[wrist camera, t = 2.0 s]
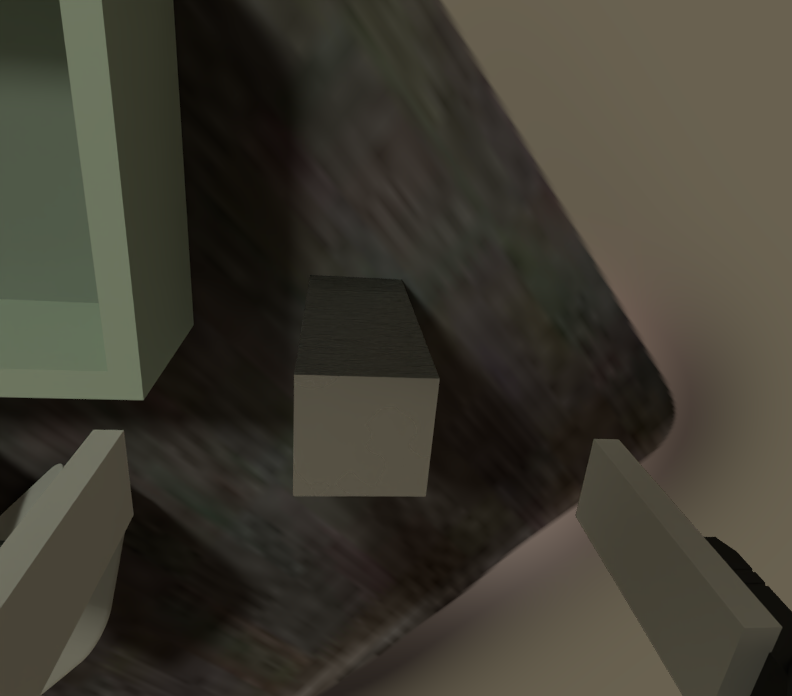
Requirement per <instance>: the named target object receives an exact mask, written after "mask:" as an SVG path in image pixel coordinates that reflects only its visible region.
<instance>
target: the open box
mask: <svg viewBox="0 0 792 696" xmlns="http://www.w3.org/2000/svg"><path fill="white" fill-rule="evenodd" d="M193 325H194V320H193V304H192V288H191V272H190V257H189V241H188V225H187V209H186V193H185V178H184V162H183V146H182V130H181V114H180V98H179V83H178V67H177V51H176V35H175V19H174V4H173V0H0V397H19V398H64V399H109V400H144V399H145V398H146V396H147V395H148V393H149V392H150V390H151V388H152V387H153V385H154V384H155V382H156V381H157V379H158V378H159V376H160V375H161V373H162V372H163V370H164V369H165V367H166V366H167V364H168V363H169V361H170V360H171V358H172V357H173V355H174V354H175V352H176V351H177V349H178V348H179V346H180V345H181V343H182V342H183V340H184V339H185V337H186V336H187V334H188V333H189V331H190V330H191V328H192V327H193Z"/></svg>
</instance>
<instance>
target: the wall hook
mask: <svg viewBox="0 0 792 696" xmlns="http://www.w3.org/2000/svg"><path fill="white" fill-rule="evenodd" d="M63 467H64V465H62V464H57V465H55V466H54V467H52V468H51V469H50V470H49V471H48V472H47V473H46V474H45V475H43V476H42V477H41V478H40V479H39V480H38V481H37V482H36V483H35V484H34V485H33V486H32V487H31V488H29V489H28V490H27V491H26V492H25V493H24V494H23V495H22V496H21V497H20V498H19V499H18V500H17V501H16V502H14V503H13V504H12V505H11V506H10V507H9V508H8V509H7V510H6V511H5V512H4V513H3V514H2V515H1V516H0V540H6V539H7V538H8V537H9V536H10V534H11V533H12V532H13V531H14V529H15V528H16V527H17V526H18V524H19V523H20V522H21V521H22V519H23V518H24V517H25V515H26V514H27V513H28V512H29V510H30V509H31V508H32V507H33V505H34V504H35V503H36V502H37V500H38V499H39V498H40V497H41V495H42V494H43V493H44V491H45V490H46V489H47V488H48V486H49V485H50V484H51V483H52V481H53V480H54V479H55V478H56V476H57V475H58V474H59V473H60V471H61V470H62V469H63ZM124 534H125V533H124ZM123 540H124V535H123V537H122V538H121V540H120V542H119V544H118V546H117V548H116V550H115V552H114V554H113V556H112V558H111V560H110V562H109V563H108V565H107V567H106V569H105V571H104V573H103V575H102V577H101V579H100V581H99V583H98V585H97V587H96V588H95V590H94V592H93V594H92V596H91V598H90V600H89V602H88V604H87V606H86V608H85V610H84V612H83V614H82V615H81V617H80V619H79V621H78V623H77V625H76V627H75V629H74V631H73V633H72V635H71V637H70V639H69V640H68V642H67V644H66V646H65V648H64V650H63V652H62V654H61V656H60V658H59V660H58V662H57V664H56V665H55V667H54V669H53V671H52V673H51V675H50V677H49V679H48V681H47V683H46V685H45V687H44V689H43V691H42V692H41V694H40V695H42V694H43V693H44V692H45V691H47V690H48V689H49V688H50V687H52V686H53V685H54V684H55V683H56V682H58V681H59V680H60V679H61V678H62V677H64V676H65V675H66V674H67V673H69V672H70V671H71V670H72V669H73V668H75V667H76V666H77V665H78V664H79V663H81V662H82V661H83V660H84V659H85V658H86V657H87V656H88V655H89V653H90V652H91V651H92V649H93V648H94V647H95V645H96V644H97V642H98V640H99V639H100V637H101V635H102V633H103V631H104V629H105V627H106V624H107V622H108V619H109V616H110V612H111V608H112V602H113V597H114V591H115V585H116V580H117V574H118V569H119V563H120V557H121V551H122V545H123Z"/></svg>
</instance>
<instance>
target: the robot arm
mask: <svg viewBox="0 0 792 696" xmlns="http://www.w3.org/2000/svg"><path fill="white" fill-rule="evenodd" d="M133 515H134V513H133V504H132V496H131V487H130V479H129V470H128V462H127V453H126V445H125V436H124V430H93V431H92V432H91V433H90V435H89V436H88V437H87V438H86V440H85V441H84V442H83V444H82V445H81V446H80V447H79V449H78V450H77V451H76V452H75V454H74V455H73V456H72V457H71V459H70V460H69V461H68V462H67V464H66V465H65V466H64V467H63V469H62V470H61V471H60V473H59V474H58V475H57V476H56V478H55V479H54V480H53V481H52V483H51V484H50V485H49V486H48V488H47V489H46V490H45V491H44V493H43V494H42V495H41V497H40V498H39V499H38V500H37V502H36V503H35V504H34V505H33V507H32V508H31V509H30V510H29V512H28V513H27V514H26V515H25V517H24V518H23V519H22V521H21V522H20V523H19V524H18V526H17V527H16V528H15V529H14V531H13V532H12V533H11V534H10V536H9V537H8V538H7V539H6V540H0V696H40V694H41V692H42V691H43V689H44V687H45V685H46V683H47V681H48V679H49V677H50V675H51V673H52V671H53V669H54V667H55V665H56V664H57V662H58V660H59V658H60V656H61V654H62V652H63V650H64V648H65V646H66V644H67V642H68V640H69V639H70V637H71V635H72V633H73V631H74V629H75V627H76V625H77V623H78V621H79V619H80V617H81V615H82V614H83V612H84V610H85V608H86V606H87V604H88V602H89V600H90V598H91V596H92V594H93V592H94V590H95V588H96V587H97V585H98V583H99V581H100V579H101V577H102V575H103V573H104V571H105V569H106V567H107V565H108V563H109V562H110V560H111V558H112V556H113V554H114V552H115V550H116V548H117V546H118V544H119V542H120V540H121V538H122V537H123V535H124V533H125V531H126V529H127V527H128V525H129V523H130V521H131V519H132V517H133ZM576 517H577V519H578V521H579V522H580V524H581V526H582V527H583V529H584V531H585V532H586V534H587V536H588V538H589V539H590V541H591V543H592V544H593V546H594V548H595V549H596V551H597V553H598V554H599V556H600V558H601V559H602V561H603V563H604V564H605V566H606V568H607V569H608V571H609V573H610V575H611V576H612V578H613V580H614V581H615V583H616V585H617V586H618V588H619V590H620V591H621V593H622V595H623V596H624V598H625V600H626V601H627V603H628V605H629V606H630V608H631V610H632V611H633V613H634V615H635V616H636V618H637V620H638V621H639V623H640V625H641V626H642V628H643V630H644V632H645V633H646V635H647V637H648V638H649V640H650V642H651V643H652V645H653V647H654V648H655V650H656V652H657V653H658V655H659V657H660V658H661V660H662V662H663V663H664V665H665V667H666V669H667V670H668V672H669V674H670V675H671V677H672V678H673V680H674V682H675V683H676V685H677V687H678V689H679V690H680V692H681V693H682V695H683V696H792V611H791V610H790V609H789V608H788V607H787V606H786V605H785V604H784V603H783V602H782V601H781V600H780V598H779V597H778V596H777V595H776V594H775V593H774V592H773V591H772V590H771V589H770V588H769V587H768V586H765V582H764V581H763V580H762V579H761V578H760V577H759V576H758V574H757V573H756V572H753V571H752V568H751V567H750V566H749V565H748V564H747V563H746V561H745V560H744V559H743V558H742V557H741V556H740V555H739V554H738V553H737V552H736V551H735V550H733V549H732V548H730V547H729V546H728V545H726V544H725V543H723V542H722V541H720V540H719V539H717V538H716V537H703V536H702V535H701V533H700V532H699V531H698V530H697V529H696V528H695V526H694V525H693V524H692V523H691V522H690V521H689V520H688V518H687V517H686V516H685V515H684V514H683V513H682V512H681V510H680V509H679V508H678V507H677V506H676V505H675V503H674V502H673V501H672V500H671V499H670V498H669V497H668V496H667V494H666V493H665V492H664V491H663V490H662V489H661V487H660V486H659V485H658V484H657V483H656V482H655V481H654V480H653V478H652V477H651V476H650V475H649V474H648V473H647V471H646V470H645V469H644V468H643V467H642V466H641V465H640V463H639V462H638V461H637V460H636V459H635V458H634V456H633V455H632V454H631V453H630V452H629V451H628V450H627V448H626V447H625V446H624V445H623V444H622V443H621V442H620V440H619V439H594V440H593V444H592V449H591V453H590V457H589V461H588V465H587V470H586V474H585V478H584V482H583V486H582V491H581V495H580V499H579V503H578V507H577V512H576Z"/></svg>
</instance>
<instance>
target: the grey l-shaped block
mask: <svg viewBox="0 0 792 696" xmlns="http://www.w3.org/2000/svg"><path fill="white" fill-rule="evenodd" d="M439 381H440V378H439V376H438V373H437V370H436V368H435V365H434V363H433V360H432V357H431V355H430V352H429V350H428V347H427V344H426V342H425V339H424V337H423V334H422V331H421V329H420V326H419V324H418V321H417V318H416V316H415V313H414V311H413V308H412V305H411V303H410V300H409V298H408V295H407V292H406V290H405V287H404V285H403V282H402V280H399V279H379V278H359V277H338V276H318V275H310V279H309V285H308V291H307V298H306V304H305V310H304V316H303V323H302V329H301V335H300V342H299V348H298V354H297V360H296V367H295V373H294V450H293V496H426V490H427V481H428V473H429V465H430V456H431V448H432V439H433V431H434V423H435V414H436V406H437V398H438V389H439Z"/></svg>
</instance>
